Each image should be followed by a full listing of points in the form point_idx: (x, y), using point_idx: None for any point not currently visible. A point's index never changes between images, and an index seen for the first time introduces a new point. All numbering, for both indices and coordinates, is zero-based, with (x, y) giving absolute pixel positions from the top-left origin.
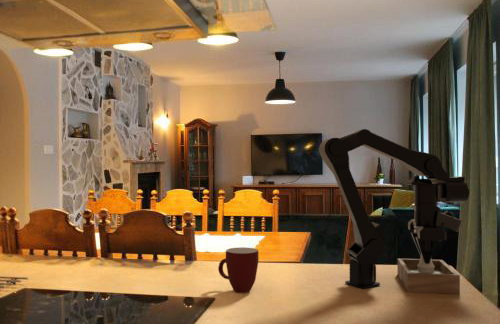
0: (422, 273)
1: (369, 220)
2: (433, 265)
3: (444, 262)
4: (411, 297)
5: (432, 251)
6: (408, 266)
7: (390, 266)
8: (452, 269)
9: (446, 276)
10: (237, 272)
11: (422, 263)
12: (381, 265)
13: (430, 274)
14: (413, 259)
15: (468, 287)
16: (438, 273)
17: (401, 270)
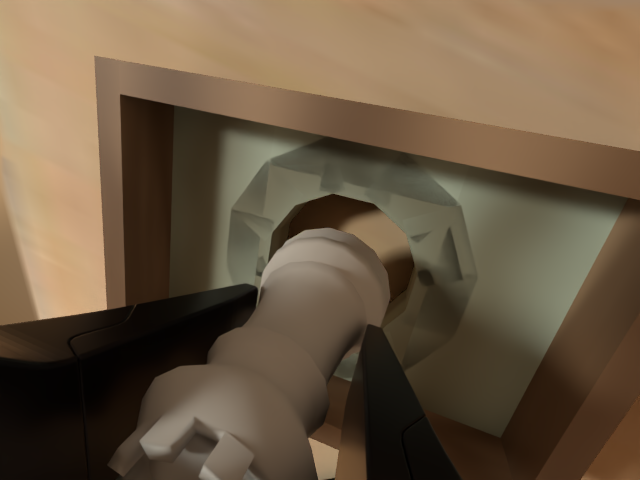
0: (576, 458)
1: None
2: (351, 263)
3: (181, 78)
4: (623, 465)
5: (427, 424)
6: (160, 286)
7: (49, 266)
8: (469, 129)
9: None
10: None
11: (343, 357)
12: (42, 294)
13: (621, 418)
14: (118, 273)
15: (467, 13)
16: (277, 160)
17: None
